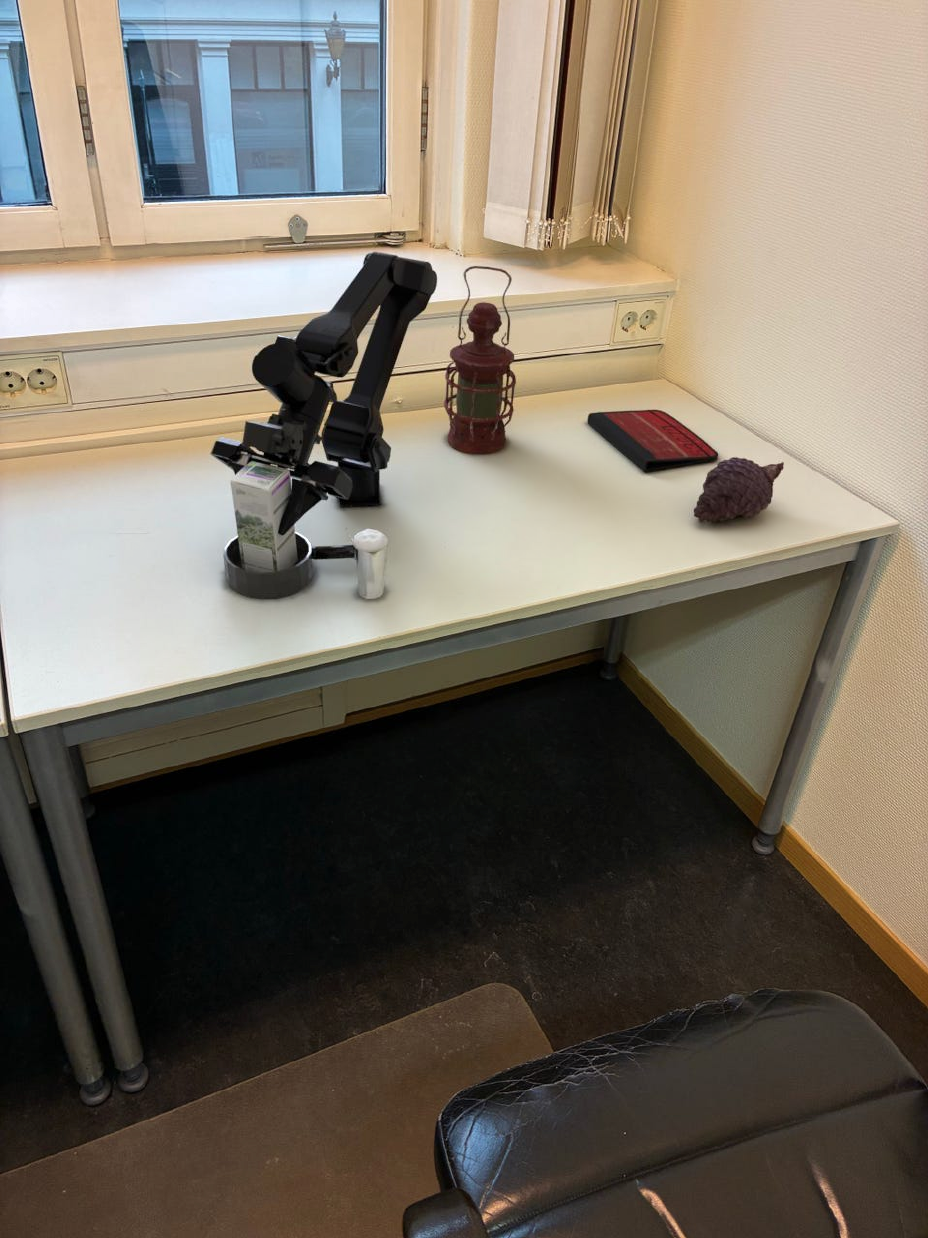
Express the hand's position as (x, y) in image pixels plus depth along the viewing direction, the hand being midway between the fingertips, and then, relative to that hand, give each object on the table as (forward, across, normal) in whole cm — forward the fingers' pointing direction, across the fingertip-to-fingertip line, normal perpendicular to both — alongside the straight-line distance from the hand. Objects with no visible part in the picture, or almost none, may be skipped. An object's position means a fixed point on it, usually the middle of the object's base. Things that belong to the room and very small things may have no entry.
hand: (260, 528), depth 120 cm
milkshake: (+3, +14, +8) cm, 16 cm away
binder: (-43, +36, +56) cm, 79 cm away
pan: (+5, 0, +6) cm, 8 cm away
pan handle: (-1, +9, +9) cm, 13 cm away
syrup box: (+4, 0, +6) cm, 7 cm away
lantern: (-32, +8, +44) cm, 55 cm away
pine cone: (-29, +54, +41) cm, 74 cm away
